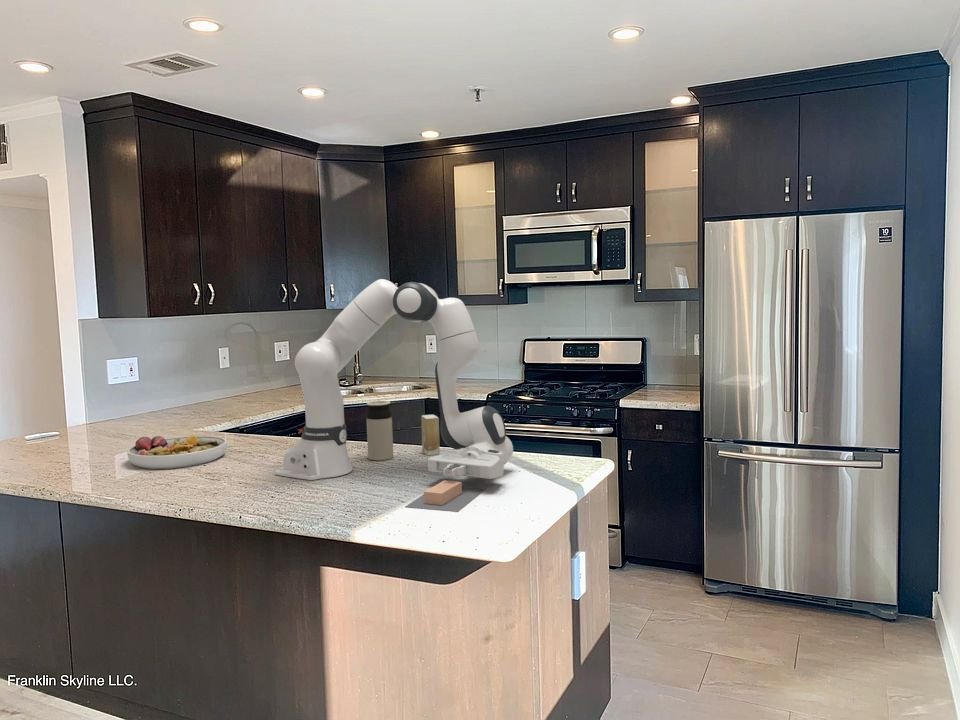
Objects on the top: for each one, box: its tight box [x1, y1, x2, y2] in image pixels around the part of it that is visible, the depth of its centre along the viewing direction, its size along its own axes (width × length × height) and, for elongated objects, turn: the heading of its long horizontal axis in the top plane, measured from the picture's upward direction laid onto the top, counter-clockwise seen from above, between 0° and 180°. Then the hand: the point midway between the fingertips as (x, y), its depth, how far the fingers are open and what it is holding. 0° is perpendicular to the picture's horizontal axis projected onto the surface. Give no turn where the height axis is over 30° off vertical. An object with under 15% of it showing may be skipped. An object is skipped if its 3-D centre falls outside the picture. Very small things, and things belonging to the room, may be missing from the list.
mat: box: [404, 486, 487, 513], centre depth 179 cm, size 14×20×1 cm
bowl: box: [127, 434, 228, 470], centre depth 232 cm, size 30×30×8 cm
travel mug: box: [365, 400, 394, 462], centre depth 225 cm, size 8×8×18 cm
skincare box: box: [421, 414, 441, 456], centre depth 230 cm, size 6×4×12 cm
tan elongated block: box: [423, 480, 463, 505], centre depth 178 cm, size 5×3×11 cm
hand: (448, 472), depth 181 cm, fingers closed
